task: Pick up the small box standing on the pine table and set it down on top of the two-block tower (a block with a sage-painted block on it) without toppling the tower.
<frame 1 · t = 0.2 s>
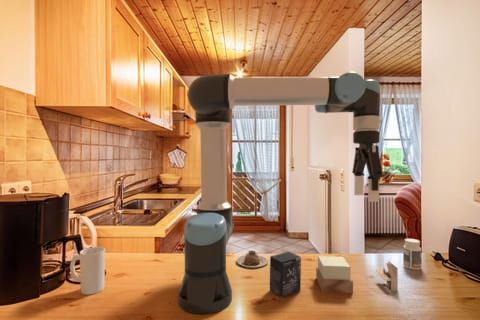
hand: (365, 198, 85), 28 cm above the countertop, fingers open, 13 cm apart
architectural model: (389, 288, 84), on the countertop
tower base: (333, 286, 85), on the countertop
mug: (87, 290, 82), on the countertop
tower top: (333, 273, 85), point 4 cm above the countertop
box: (285, 291, 81), on the countertop
pill bottle: (412, 267, 99), on the countertop
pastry: (252, 264, 103), on the countertop
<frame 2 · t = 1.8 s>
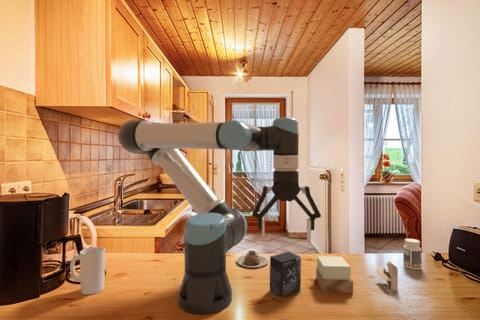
hand: (285, 240, 81), 15 cm above the countertop, fingers open, 13 cm apart
tower base: (333, 286, 85), on the countertop, touching tower top
tower top: (333, 273, 85), point 4 cm above the countertop, touching tower base
everything else where it was.
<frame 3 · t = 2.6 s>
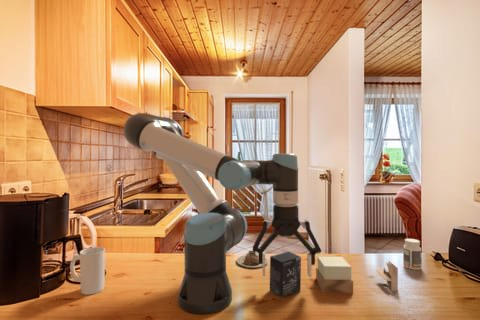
hand: (286, 274, 81), 5 cm above the countertop, fingers open, 13 cm apart
nothing on the countertop moved.
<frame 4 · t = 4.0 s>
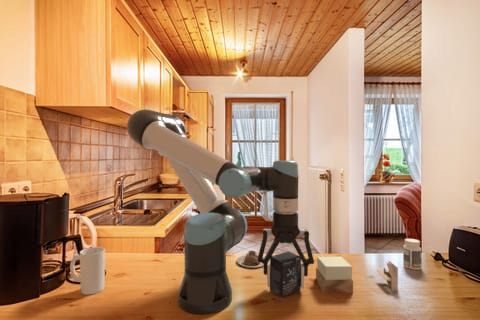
hand: (285, 285, 81), 2 cm above the countertop, fingers closed on box, 9 cm apart
box: (285, 291, 81), on the countertop, touching gripper
everything else where it was.
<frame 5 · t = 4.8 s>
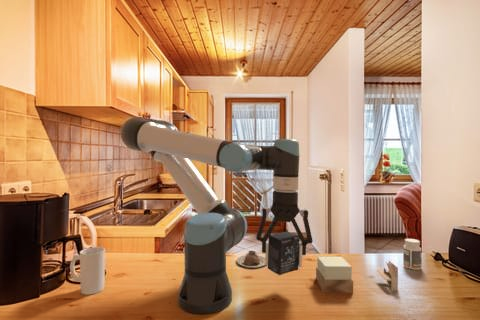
hand: (283, 264, 81), 8 cm above the countertop, fingers closed on box, 9 cm apart
box: (283, 270, 81), point 6 cm above the countertop, touching gripper
everything else where it was.
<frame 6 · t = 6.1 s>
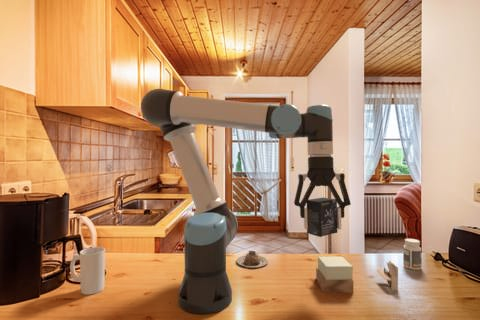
hand: (322, 228, 83), 18 cm above the countertop, fingers closed on box, 9 cm apart
tower base: (333, 286, 85), on the countertop
tower top: (334, 273, 85), point 4 cm above the countertop
box: (322, 233, 83), point 17 cm above the countertop, touching gripper
everything else where it was.
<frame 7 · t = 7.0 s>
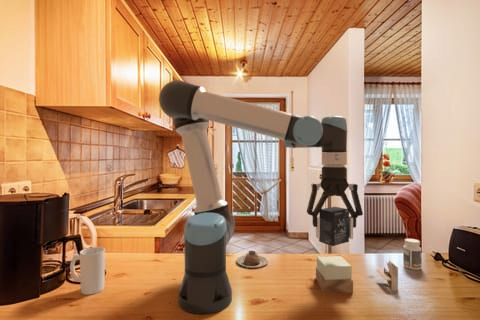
hand: (334, 237, 85), 15 cm above the countertop, fingers closed on box, 9 cm apart
tower base: (333, 286, 85), on the countertop, touching tower top
tower top: (333, 273, 85), point 4 cm above the countertop, touching tower base
box: (334, 242, 85), point 13 cm above the countertop, touching gripper
everything else where it was.
when the fingers open (11 cm above the countertop, at t = 8.5 s): box drops 2 cm, point 7 cm above the countertop.
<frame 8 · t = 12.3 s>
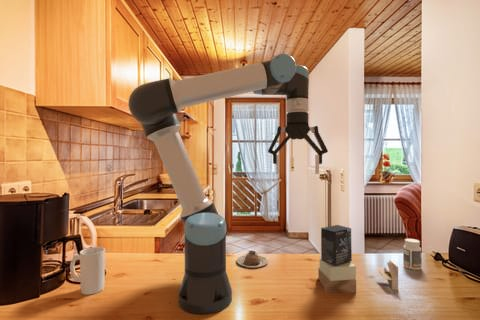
hand: (297, 173, 93), 35 cm above the countertop, fingers open, 13 cm apart
tower top: (336, 274, 84), point 4 cm above the countertop, touching tower base
box: (336, 261, 84), point 7 cm above the countertop
everything else where it was.
at the end: box inside the target area on the tower base (0.4 cm from its centre), point 7.8 cm above the tower base's base; box tilted 0°; tower top moved 1.1 cm from its start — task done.
